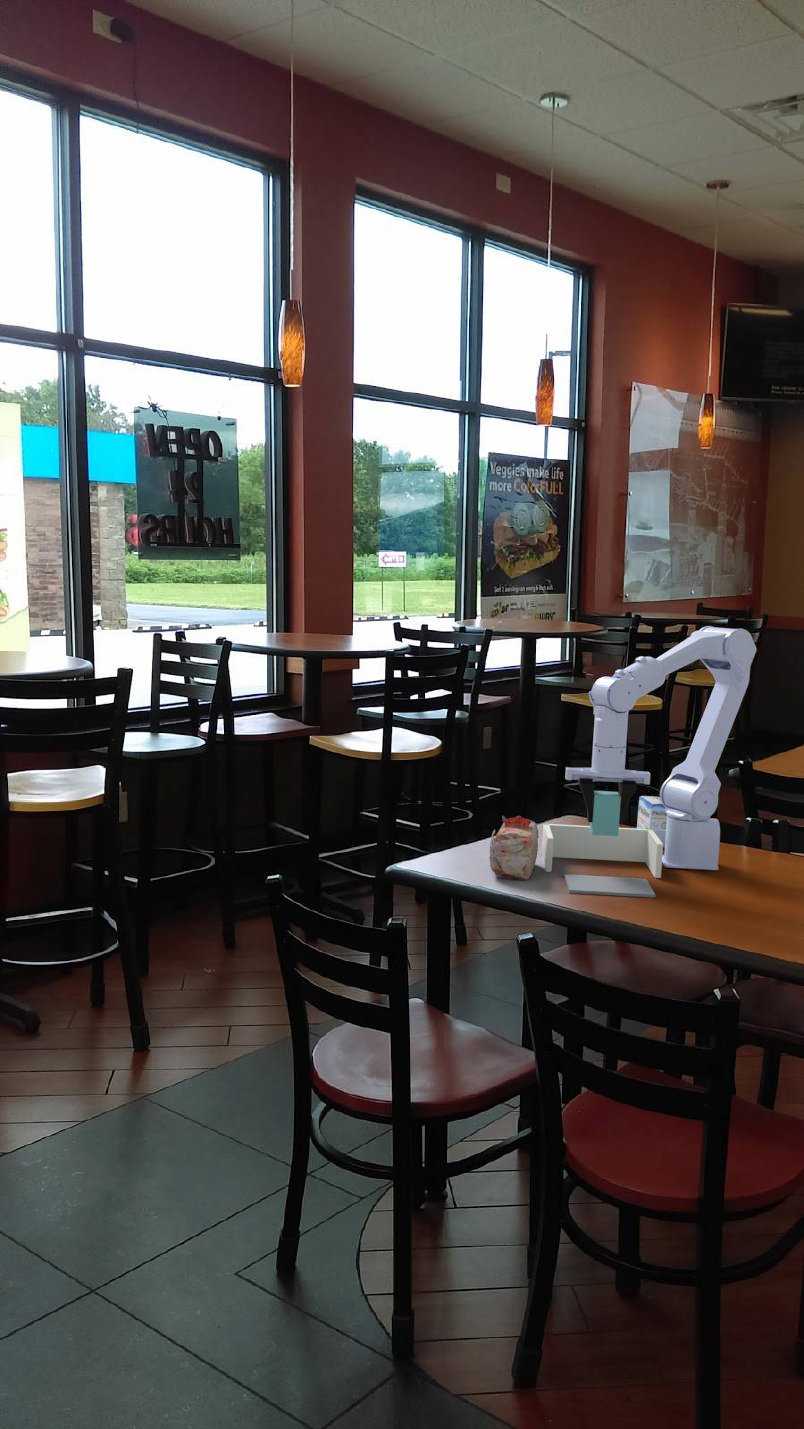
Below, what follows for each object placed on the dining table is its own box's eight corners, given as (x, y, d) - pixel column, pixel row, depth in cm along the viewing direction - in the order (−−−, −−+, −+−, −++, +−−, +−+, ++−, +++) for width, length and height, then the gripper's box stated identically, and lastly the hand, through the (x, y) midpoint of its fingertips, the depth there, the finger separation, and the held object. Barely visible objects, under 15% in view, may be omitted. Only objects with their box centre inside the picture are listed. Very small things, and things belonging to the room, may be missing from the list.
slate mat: (646, 881, 195) (646, 878, 194) (655, 897, 185) (655, 894, 185) (564, 876, 195) (564, 874, 195) (569, 892, 185) (569, 889, 185)
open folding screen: (650, 861, 209) (652, 829, 209) (660, 877, 197) (663, 844, 197) (541, 855, 210) (543, 823, 210) (545, 871, 198) (547, 838, 198)
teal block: (615, 830, 202) (617, 792, 201) (618, 836, 197) (620, 796, 196) (589, 829, 202) (592, 790, 201) (592, 834, 197) (594, 795, 196)
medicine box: (635, 837, 229) (638, 795, 228) (656, 838, 229) (659, 796, 228) (648, 847, 221) (651, 803, 220) (670, 847, 221) (673, 804, 220)
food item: (533, 883, 191) (536, 826, 189) (486, 879, 192) (489, 822, 191) (538, 864, 204) (541, 810, 203) (494, 860, 205) (497, 807, 204)
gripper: (648, 744, 201) (642, 819, 203) (566, 740, 202) (561, 815, 204) (654, 750, 194) (648, 827, 196) (569, 746, 195) (564, 823, 197)
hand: (604, 822), depth 199 cm, fingers closed on teal block, 4 cm apart
